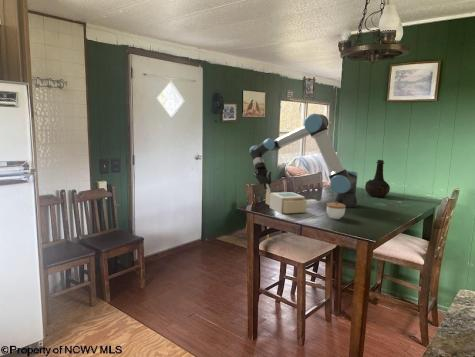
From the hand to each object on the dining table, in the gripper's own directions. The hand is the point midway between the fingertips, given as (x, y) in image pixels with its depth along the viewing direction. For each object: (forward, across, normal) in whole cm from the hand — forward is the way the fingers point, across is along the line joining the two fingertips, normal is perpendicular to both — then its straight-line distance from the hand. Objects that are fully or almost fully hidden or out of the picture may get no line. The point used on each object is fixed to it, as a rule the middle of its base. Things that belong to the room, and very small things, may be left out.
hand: (269, 192), depth 244 cm
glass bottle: (+5, -93, -3) cm, 93 cm away
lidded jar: (+37, -20, +28) cm, 50 cm away
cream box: (+20, -1, +12) cm, 23 cm away
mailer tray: (+18, -1, +11) cm, 21 cm away
